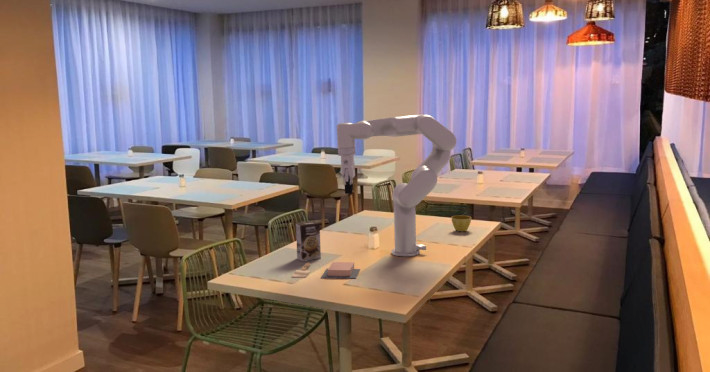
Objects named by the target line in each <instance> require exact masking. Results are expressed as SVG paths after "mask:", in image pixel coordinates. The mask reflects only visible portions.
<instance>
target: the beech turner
mask: <svg viewBox="0 0 710 372" xmlns="http://www.w3.org/2000/svg"><path fill="white" fill-rule="evenodd" d="M310 266H311V263H310V262H305V264H304V265H303V266H302V268H301V269H296V270H295V271H294V272H293V274H292V275H291V278H297V279H298V278H301V279H303V278H304V279H305V278H306V279H307V277H308V276H309V274H310V273H311V270H310V269H309V268H310ZM308 269H309V270H308Z"/></svg>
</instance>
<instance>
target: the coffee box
mask: <svg viewBox="0 0 710 372" xmlns="http://www.w3.org/2000/svg"><path fill="white" fill-rule="evenodd" d="M320 227H321V226H320V222H318V221H315V220H312V221H303V222H295V231H296V233H295V234H296V237H295V238H296V258H297V260H300V261H301V262H307V261H314V260H320V259H321V258H322V253H321V228H320ZM313 259H314V260H313Z"/></svg>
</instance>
